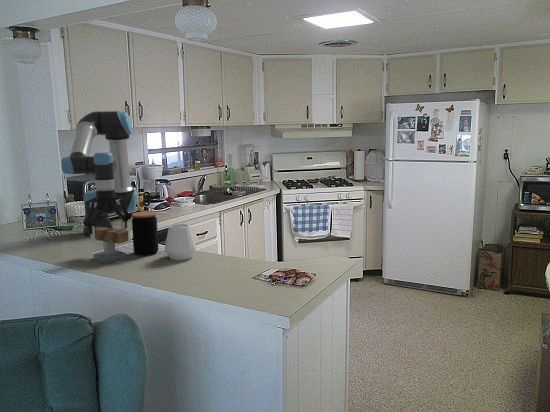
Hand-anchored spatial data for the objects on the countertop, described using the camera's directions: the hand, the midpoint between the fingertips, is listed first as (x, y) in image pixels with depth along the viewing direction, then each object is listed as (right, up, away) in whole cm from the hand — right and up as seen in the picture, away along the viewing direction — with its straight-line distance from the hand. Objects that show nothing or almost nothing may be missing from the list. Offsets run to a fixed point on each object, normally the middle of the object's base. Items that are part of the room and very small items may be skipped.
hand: (108, 238), depth 196 cm
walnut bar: (0, -1, 0) cm, 1 cm away
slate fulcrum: (0, -8, +1) cm, 8 cm away
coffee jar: (+13, -7, +9) cm, 18 cm away
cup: (+30, -8, +2) cm, 32 cm away
